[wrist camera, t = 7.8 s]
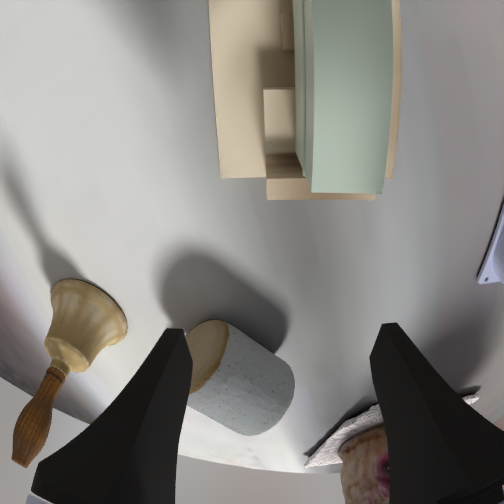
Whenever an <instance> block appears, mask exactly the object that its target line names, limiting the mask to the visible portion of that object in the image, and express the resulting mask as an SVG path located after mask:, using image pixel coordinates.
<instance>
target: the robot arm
mask: <svg viewBox="0 0 504 504" xmlns="http://www.w3.org/2000/svg"><path fill="white" fill-rule="evenodd" d="M477 281H478V283H479V284H485V283H494V282H502V283H503V285H504V204H503V207H502V211H501V214H500V217H499V221H498V224H497V227H496V230H495V233H494V236H493V239H492V242H491V244H490V247H489V250H488V252H487V255H486V258H485V260H484V263H483V265H482V268H481V270H480V273H479V275H478V277H477ZM369 358H370V365H371V372H372V379H373V384H374V387H375V391H376V395H377V399H378V403H379V407H380V411H381V414H382V418H383V423H384V427H385V431H386V437H387V445H388V456H389V473H390V496H389V504H504V489H503V488H502V485H504V431H502V430H501V429H499V428H498V427H496V426H495V425H493V424H492V423H491V422H489V421H488V420H487V419H485V418H484V417H483V416H482V415H480V414H479V413H478V412H477V411H476V410H474V409H473V408H472V407H471V406H470V405H469V404H467V403H466V402H465V401H464V400H463V399H462V398H461V397H460V396H459V395H458V394H457V393H456V392H455V391H454V390H453V389H452V388H451V387H450V386H449V385H448V384H447V383H446V382H445V380H444V379H443V378H442V377H441V376H440V375H439V374H438V373H437V371H436V370H435V369H434V368H433V367H432V365H431V364H430V363H429V362H428V361H427V359H426V358H425V357H424V356H423V355H422V353H421V352H420V351H419V350H418V348H417V347H416V346H415V345H414V343H413V342H412V341H411V339H410V338H409V337H408V336H407V334H406V333H405V332H404V331H403V329H402V328H401V327H400V326H399V325H398V323H397V322H396V323H385V324H382V325H381V328H380V331H379V334H378V336H377V339H376V342H375V344H374V347H373V349H372V352H371V355H370V357H369ZM192 369H193V360H192V357H191V354H190V351H189V348H188V344H187V341H186V338H185V335H184V331H183V329H171V328H167V329H166V330H165V331H164V332H163V334H162V335H161V337H160V338H159V340H158V342H157V343H156V345H155V346H154V348H153V349H152V351H151V352H150V354H149V355H148V356H147V358H146V359H145V361H144V362H143V364H142V365H141V366H140V368H139V369H138V371H137V372H136V373H135V375H134V376H133V377H132V379H131V380H130V381H129V383H128V384H127V385H126V386H125V388H124V389H123V390H122V391H121V393H120V394H119V395H118V396H117V397H116V399H115V400H114V401H113V402H112V403H111V404H110V405H109V406H108V407H107V408H106V410H105V411H104V412H103V413H102V414H101V415H100V416H99V417H98V418H97V419H96V420H95V421H94V422H92V423H91V424H90V426H88V427H87V428H86V429H85V430H84V431H83V432H82V433H80V434H79V435H78V436H77V437H75V438H74V439H73V440H71V441H70V442H69V443H68V444H66V445H65V446H64V447H62V448H61V449H59V450H58V451H56V452H55V453H53V454H52V455H50V456H49V457H47V458H45V459H44V460H42V461H40V462H39V464H38V466H37V469H36V473H35V476H34V480H33V483H32V487H31V491H32V492H33V493H34V494H36V495H38V496H39V497H41V498H43V499H45V500H47V501H49V502H51V503H53V504H175V483H176V482H175V481H176V464H177V454H178V444H179V438H180V433H181V428H182V423H183V419H184V414H185V410H186V406H187V401H188V396H189V392H190V387H191V379H192ZM26 504H50V503H47V502H45V501H43V500H41V499H39V498H37V497H35V496H32V495H30V494H29V495H28V497H27V501H26Z"/></svg>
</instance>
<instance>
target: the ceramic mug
mask: <svg viewBox="0 0 504 504" xmlns="http://www.w3.org/2000/svg"><path fill="white" fill-rule="evenodd" d="M185 338H186V341H187V344H188V348H189V351H190V354H191V357H192V360H193V369H192V379H191V387H190V392H189V396H188V401H187V405H188V406H189V407H191V408H193V409H195V410H197V411H199V412H201V413H203V414H204V415H206V416H208V417H210V418H211V419H213V420H215V421H217V422H218V423H220V424H222V425H224V426H226V427H227V428H229V429H231V430H233V431H235V432H237V433H239V434H242V435H247V436H252V435H258V434H261V433H263V432H265V431H267V430H269V429H270V428H272V427H273V426H274V425H276V424H277V423H278V422H279V421H280V419H281V418H282V417H283V415H284V414H285V413H286V411H287V409H288V408H289V406H290V404H291V401H292V398H293V394H294V388H295V380H294V375H293V372H292V370H291V368H290V366H289V365H288V364H287V363H286V362H285V361H283V360H282V359H280V358H279V357H277V356H275V355H274V354H273V353H271V352H270V351H269V350H267V349H266V348H264V347H263V346H261V345H260V344H258V343H257V342H255V341H254V340H252V339H251V338H249V337H248V336H247V335H246V334H244V333H243V332H242V331H240V330H239V329H237V328H236V327H234V326H232V325H230V324H228V323H226V322H224V321H221V320H209V321H206V322H203V323H201V324H199V325H198V326H196V327H195V328H194V329H192V330H191V331H190V332H189V333H188V334H187V335H186V336H185Z"/></svg>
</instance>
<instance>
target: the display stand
mask: <svg viewBox="0 0 504 504" xmlns="http://www.w3.org/2000/svg"><path fill="white" fill-rule="evenodd" d="M391 2H392V19H393V89H392V108H391V122H390V134H389V144H388V153H387V162H386V170H385V178H384V179H393V173H394V165H395V157H396V148H397V138H398V127H399V114H400V97H401V60H402V55H401V19H400V3H399V0H391ZM209 18H210V37H211V53H212V69H213V84H214V98H215V111H216V124H217V137H218V149H219V161H220V172H221V179H222V178H247V177H266V187H267V200H375V197H376V194H362V193H311V190H310V188H309V185H308V182H307V180H306V177H305V176H303V174H302V167H301V164H300V162H299V159H298V157H297V154H296V152H295V123H296V116H295V47H294V19H293V0H209Z"/></svg>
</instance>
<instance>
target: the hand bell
mask: <svg viewBox="0 0 504 504" xmlns="http://www.w3.org/2000/svg"><path fill="white" fill-rule="evenodd" d="M51 305H52V308H53V319H52V323H51V326H50V329H49V332H48V334H47V337H46V339H45V349H46V351H47V353H48V354H49V355H50V357H51V358H52V362H51V364H50V368H48V369H47V371H46V374H45V376H44V378H43V381H42V383H41V385H40V388H39V390H38V392H37V393H36V395H35V396H34V397H33V398H32V399H31V401H30V402H29V403H28V404H27V405H26V406H25V407H24V409H23V410H22V412H21V414H20V415H19V417H18V420H17V422H16V425H15V428H14V433H13V453H12V460H13V461H15V462H16V463H18V464H19V465H21V466H23V467H25V468H27V467H28V465H29V464H30V462H31V461H32V460H33V459H34V458H35V457H36V456H37V455H38V453H39V452H40V451H41V449H42V448H43V446H44V444H45V442H46V439H47V437H48V433H49V430H50V426H51V420H52V409H53V404H54V401H55V399H56V396H57V394H58V392H59V391H60V389H61V387H62V384H63V383H64V381H65V378H67V376H68V374H69V372H70V371H74V372H84V371H86V370H87V369H88V368H89V367H90V365H91V363H92V362H93V360H94V359H95V357H96V356H97V354H98V353H99V352H100V351H101V350H102V349H103V348H105V347H106V346H110V345H114V344H116V343H118V342H120V341H121V340H122V339H123V338H124V337H125V336H126V334H127V328H128V327H127V321H126V318H125V316H124V314H123V312H122V311H121V310H120V308H119V307H118V306H117V304H116V303H115V302H114V301H113V300H112V299H111V298H110V297H109V296H108V295H106V294H105V293H104V292H102V291H101V290H100V289H98V288H96V287H95V286H92V285H90V284H88V283H86V282H83V281H80V280H75V279H65V280H61V281H59V282H57V283H56V284H55V285H54V287H53V288H52V292H51Z"/></svg>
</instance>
